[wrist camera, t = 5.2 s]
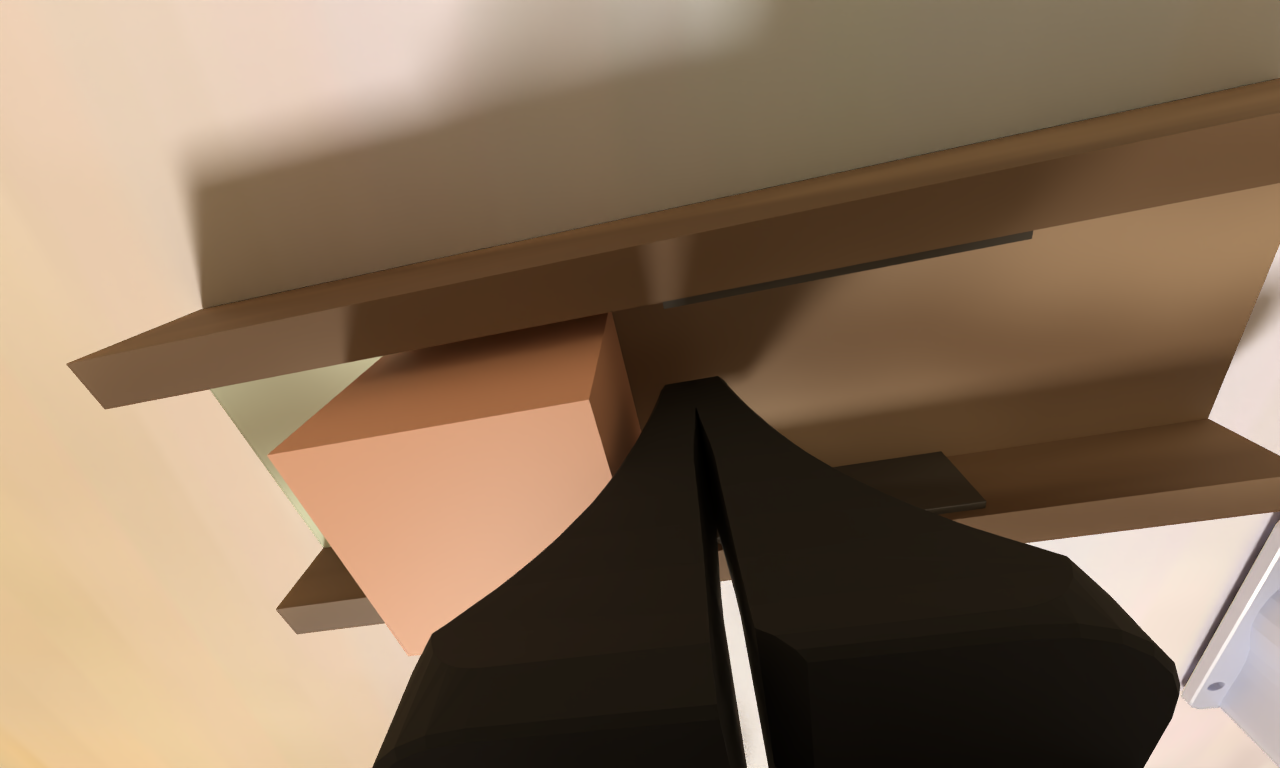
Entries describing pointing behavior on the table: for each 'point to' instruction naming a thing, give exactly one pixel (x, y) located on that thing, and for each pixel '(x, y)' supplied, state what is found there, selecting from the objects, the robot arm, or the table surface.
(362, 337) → the chute
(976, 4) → the table surface
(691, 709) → the robot arm
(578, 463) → the block
